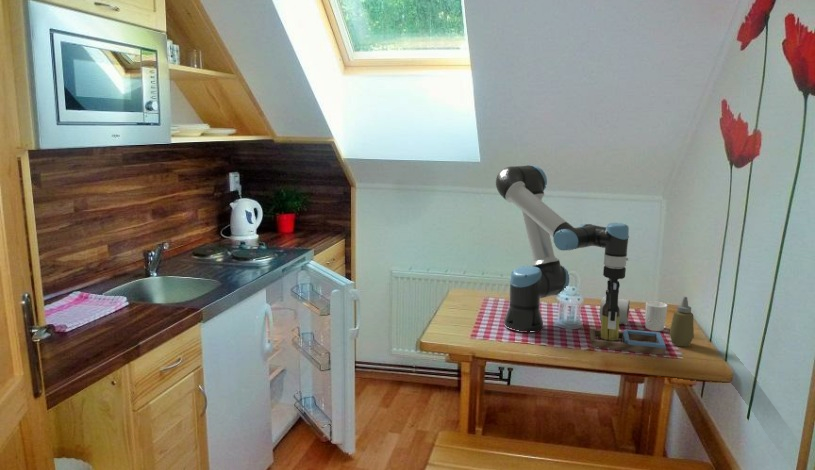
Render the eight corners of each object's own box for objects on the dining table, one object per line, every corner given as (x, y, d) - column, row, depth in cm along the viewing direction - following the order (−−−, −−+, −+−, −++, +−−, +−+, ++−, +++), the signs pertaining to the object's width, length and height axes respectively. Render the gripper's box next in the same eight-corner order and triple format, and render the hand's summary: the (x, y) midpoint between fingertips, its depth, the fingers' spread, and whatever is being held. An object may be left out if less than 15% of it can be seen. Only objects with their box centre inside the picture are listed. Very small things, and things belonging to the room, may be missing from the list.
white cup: (667, 332, 227) (669, 307, 225) (645, 331, 228) (647, 306, 227) (662, 325, 234) (665, 301, 233) (641, 324, 236) (644, 300, 234)
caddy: (590, 347, 211) (591, 337, 211) (589, 334, 224) (590, 325, 223) (664, 354, 205) (665, 345, 204) (659, 341, 217) (660, 332, 217)
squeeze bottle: (689, 341, 218) (694, 294, 215) (695, 349, 210) (700, 301, 207) (666, 339, 220) (671, 293, 216) (670, 347, 212) (675, 299, 209)
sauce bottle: (619, 341, 217) (623, 290, 213) (615, 347, 212) (620, 294, 208) (601, 338, 220) (605, 287, 216) (597, 343, 215) (601, 291, 211)
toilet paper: (628, 320, 240) (630, 297, 238) (625, 328, 232) (627, 303, 230) (603, 316, 245) (604, 293, 243) (598, 324, 236) (600, 300, 234)
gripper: (629, 275, 198) (624, 335, 202) (623, 259, 221) (618, 313, 225) (605, 273, 200) (601, 333, 204) (602, 257, 223) (598, 311, 227)
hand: (610, 322), depth 214 cm, fingers open, 13 cm apart
